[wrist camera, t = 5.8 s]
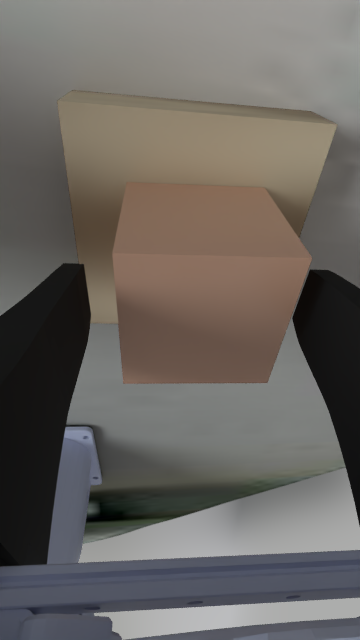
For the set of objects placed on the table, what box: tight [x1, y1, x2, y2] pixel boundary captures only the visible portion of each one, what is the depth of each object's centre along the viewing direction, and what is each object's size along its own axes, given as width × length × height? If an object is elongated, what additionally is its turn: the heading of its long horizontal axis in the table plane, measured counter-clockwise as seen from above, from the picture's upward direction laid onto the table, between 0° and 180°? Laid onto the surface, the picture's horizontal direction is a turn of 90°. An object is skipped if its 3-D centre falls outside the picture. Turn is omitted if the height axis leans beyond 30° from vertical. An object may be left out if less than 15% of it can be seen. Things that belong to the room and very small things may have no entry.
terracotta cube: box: [112, 182, 312, 384], centre depth 12 cm, size 5×5×5 cm
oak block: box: [57, 90, 337, 324], centre depth 15 cm, size 9×9×3 cm
